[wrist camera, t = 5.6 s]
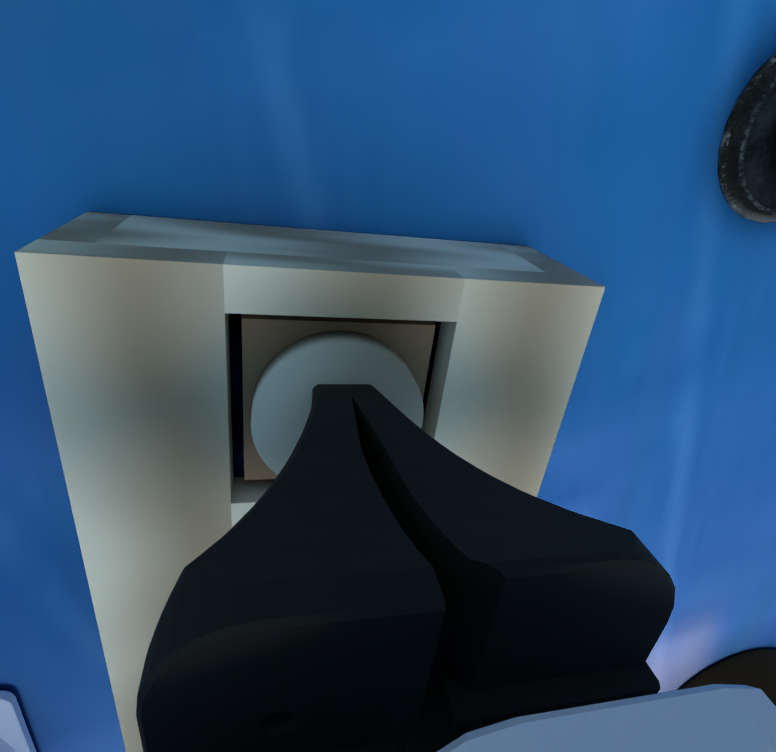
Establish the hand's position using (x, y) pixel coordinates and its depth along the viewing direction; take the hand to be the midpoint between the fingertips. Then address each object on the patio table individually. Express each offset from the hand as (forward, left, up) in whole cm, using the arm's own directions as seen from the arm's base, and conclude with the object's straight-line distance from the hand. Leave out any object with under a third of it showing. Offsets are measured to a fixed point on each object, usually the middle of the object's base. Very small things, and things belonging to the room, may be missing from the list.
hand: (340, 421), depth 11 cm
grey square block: (0, -7, -4) cm, 8 cm away
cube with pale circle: (0, 0, -4) cm, 4 cm away
